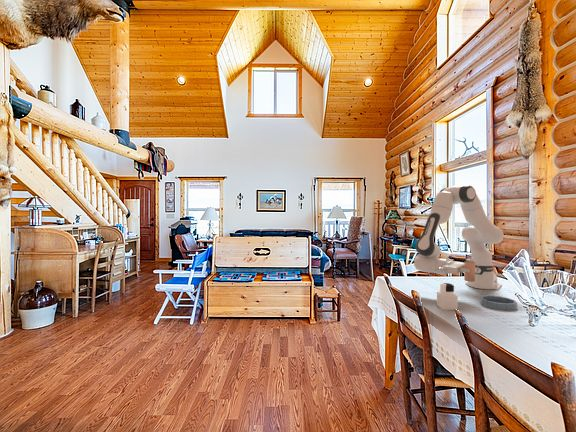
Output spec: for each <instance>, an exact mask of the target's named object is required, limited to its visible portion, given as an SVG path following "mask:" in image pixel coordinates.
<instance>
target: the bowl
mask: <svg viewBox="0 0 576 432" xmlns="http://www.w3.org/2000/svg"><path fill="white" fill-rule="evenodd" d="M479 301H480V302H479V303H480V305H481V306H484V307H485V308H488V309H493V310H498V311H499V310H500V311H515V310H517V309H518V302H517V301H516V300H515V299H512V298H508V297H503V296H499V295H498V296H497V295H482V296H480V297H479Z"/></svg>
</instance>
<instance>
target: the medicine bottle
mask: <svg viewBox="0 0 576 432" xmlns="http://www.w3.org/2000/svg"><path fill="white" fill-rule="evenodd" d="M439 287H440V288H439V291H437V292H436V306H437V307H438V308H440V310H442V311H446V310H447V311H455V310H454V309H458V305H459V304H458V295H457V294H455V286H454V284H452V283H450V282H443V283H442V282H441V283H440V285H439Z"/></svg>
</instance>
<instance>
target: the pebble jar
mask: <svg viewBox="0 0 576 432" xmlns="http://www.w3.org/2000/svg"><path fill="white" fill-rule="evenodd" d="M464 263H465V265H464V268H468V269H470V272H463V274H464V276H463V277H464V279H463V280H464V281H465V282H468V281H469V282H475V262H474V260H473V259H471V258H470V259H469V258H466V259H465V261H464Z"/></svg>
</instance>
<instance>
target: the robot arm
mask: <svg viewBox="0 0 576 432" xmlns="http://www.w3.org/2000/svg"><path fill="white" fill-rule="evenodd" d="M459 204H460V208H461V211H462V214H463V217H464V220H465V221H466V223H468V224H470V225H468V226H464V228H463V229H462V230H461V237H462V239H463V240H465V242H466V243H467V245H468V247H469V249H470V254H471V258H470V259H473V260H474V262H475V282H469V281H465V285H467V286H469V287H471V288H475V289H481V290H500V289H501V288H502V286H503V285H502V283H499V282H498V276H497V275H496V273H495V272H494V268H495V265H494V264H493V254H492V253H493V252H491V250H489V249H488V248H487V246H486V245H487V244H488V245H494V244H500V243H501V242H502V241H503V239H504V237H505V235H504V234H505V233H504V231H503V230H502V229H501V228H500V227H498V226H496V225H495V224H494V223H493V222H492V221H491V220H490V219H489V218H488V216H487V215H486V213H485V210H484V208H483V205H482V203H481V199H480V198H479V196H478V195H477V193H476V189H475V187H473V186H472V185H469V184H464V185H461V184H460V185H452V186H449V187H444V188H442V189H441V190H440V191H439V192H438V193H437V194H436V196H435V197H434V200H433V202H432V205H431V209H430V212H429V215H428V217H427V220H426V222H425V226H424V228H423V231H422V233H421V236H420V237H419V238H418V239H417V241H416V244H415V250H416V252H417V255H416V257H414V258H413V265H414V268H415V270H417V271H420V272H423V273H427V274H428V273H434V274H436V275H445V276H446V275H449V274H451V275H458V274H460V273H464V272H470V269H468V268H464V265H465V262H463V261H455V260H452V259H449V258H440V255H441V247H440V246H439V245H438V244H436V243H435V241H434V239H435V235H436V232H437V230H438V227H439V225H442V224H443V225H444V224H445V223H447V222H448V221H449V219H450V217H451V215H452V212H453V206H454V205H459Z"/></svg>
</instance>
